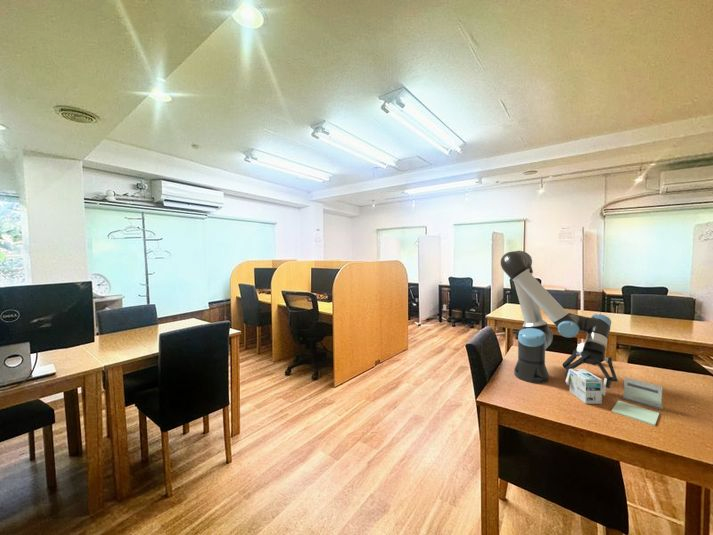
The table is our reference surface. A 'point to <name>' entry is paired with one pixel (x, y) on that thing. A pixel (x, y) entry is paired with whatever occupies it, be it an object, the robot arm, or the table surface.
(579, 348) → the light bulb
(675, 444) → the table surface
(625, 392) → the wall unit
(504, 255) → the robot arm
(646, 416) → the pad
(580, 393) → the light bulb box
